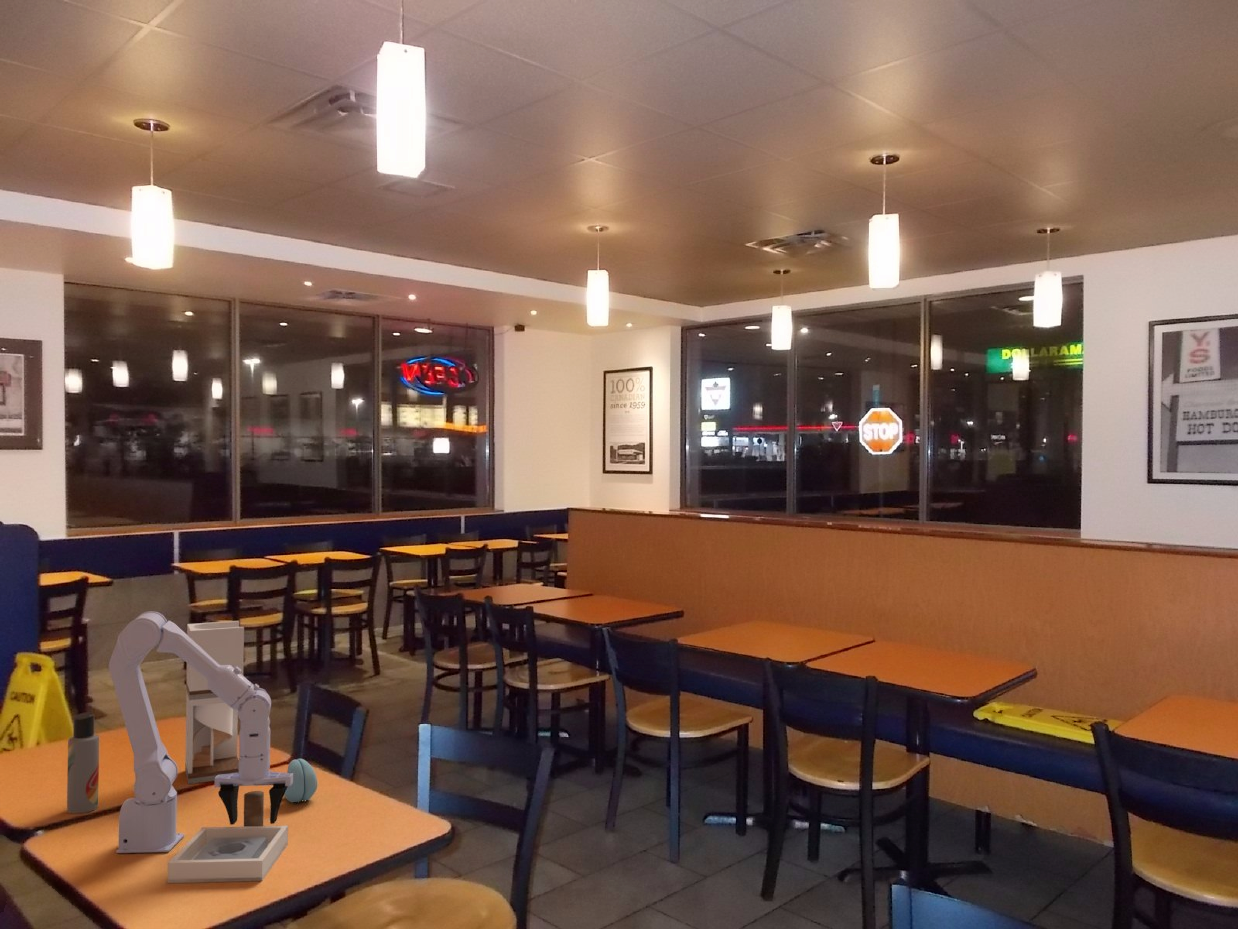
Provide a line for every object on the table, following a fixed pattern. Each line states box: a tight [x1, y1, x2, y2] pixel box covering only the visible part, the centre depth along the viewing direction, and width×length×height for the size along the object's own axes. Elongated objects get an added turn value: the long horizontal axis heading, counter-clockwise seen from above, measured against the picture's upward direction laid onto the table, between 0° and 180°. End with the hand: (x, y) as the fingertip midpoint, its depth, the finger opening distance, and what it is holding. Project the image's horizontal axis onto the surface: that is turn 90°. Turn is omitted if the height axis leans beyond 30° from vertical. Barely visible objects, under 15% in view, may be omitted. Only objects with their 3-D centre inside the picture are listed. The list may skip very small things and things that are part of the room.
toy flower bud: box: [283, 758, 318, 803], centre depth 201 cm, size 7×9×12 cm
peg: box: [243, 790, 265, 827], centre depth 180 cm, size 4×4×8 cm
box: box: [167, 825, 289, 884], centre depth 167 cm, size 16×16×4 cm
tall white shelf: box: [184, 620, 245, 785], centre depth 216 cm, size 11×11×35 cm
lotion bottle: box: [66, 712, 100, 815], centre depth 193 cm, size 6×6×20 cm
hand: (253, 822), depth 180 cm, fingers open, 7 cm apart
